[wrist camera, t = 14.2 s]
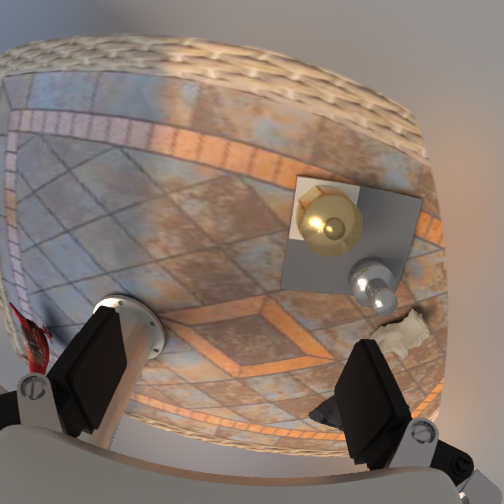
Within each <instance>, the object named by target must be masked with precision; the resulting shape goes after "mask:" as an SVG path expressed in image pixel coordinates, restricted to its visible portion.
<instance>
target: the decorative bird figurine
mask: <svg viewBox="0 0 504 504" xmlns="http://www.w3.org/2000/svg"><path fill="white" fill-rule="evenodd" d="M10 305H11V308H12V309H13V311H14V312H15V314H16V316H17V318H18V319H19V321H20V323H21V329H22V335H23V340H24V344H25V347H26V350H27V354H28V357H29V368H30V373H40V374H43V375H45V372H46V368H47V365H48V362H49V346H48V342H47V339H46V336H45V335H44V333H45V334H46V335H47V336H48V338H49V339H50V340H51V336H50V334H49V333H48V331H47V329H46V327H45V328H44V323H43V328H44V330H43V329H41V328H39V327H38V326H37V325H36V324H35V323H34V322H33V321H31V320H29V319H26V318H25V317H23V316H22V315H21V314H20V313H19V311H18V310H17V309H16V308H15V307H14V306H13V304H12V303H10ZM51 343H52V341H51ZM52 344H53V343H52Z"/></svg>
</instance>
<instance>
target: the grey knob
mask: <svg viewBox="0 0 504 504" xmlns="http://www.w3.org/2000/svg"><path fill="white" fill-rule="evenodd" d="M348 282H349V286H350V288H351V290H352V292H353V294H354V296H355V298H356V300H357V301H358V302H359V303H360V304H361V305H363V306H366V307H373V309H374V311H375V312H376V314H377V315H379V316H387V315H389V314H391V313H392V312H393V311H394V310H395V309H396V307H397V304H398V301H397V298H396V297H395V295H394V294H393V291H394V288H395V277H394V275H393V274H392V272H391V271H390V270H389V269H388V267H387V266H386V265H385V264H384V262H383V261H382V260H380V259H379V258H376V257H367V258H363V259H361V260H360V261H358V262H357V263H356V264H355V265H354V266H353V267H352V269H351V270H350V273H349V276H348Z"/></svg>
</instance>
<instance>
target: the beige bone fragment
mask: <svg viewBox="0 0 504 504" xmlns="http://www.w3.org/2000/svg"><path fill="white" fill-rule="evenodd" d="M430 334H431V330H430V329H429V328H428V326H427V324H426V322H425V321H424V319H423V317H422V313H419V312H418V313H417V312H416V311H414V309H413V308H412V309H411V311H410V312H409V315H408V317H406V318H404V320H403V321H401V322H400V323H392V324H387V325H386V326H380V327H379V328H378V329H377V330H376V331H374V333H373V334H372V335H371V337H370V338H369V339H374V340H375V341H376V342H377V344H378V346H379V348H380V350H381V352H382V354H385V353H387V352H388V351H393V352H396V353H397V354H398V355H399V356H401V357H402V358H403V359H404V358H406V356H407V355H408V352H409V350H410V348H412V347H416V346H420V345H421V343H422V342H423V341H424V340H425V339H426V338H428V337H429V336H430Z"/></svg>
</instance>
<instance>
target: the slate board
mask: <svg viewBox="0 0 504 504" xmlns="http://www.w3.org/2000/svg"><path fill="white" fill-rule="evenodd" d="M298 176H299V177H306V178H313V179H320V180H326V181H333V180H327V179H321V178H314V177H307V176H300V175H297V177H296V184H295V192H294V199H293V206H292V213H291V219H290V226H289V233H290V227H291V220H292V214H293V207H294V200H295V193H296V186H297V178H298ZM333 182H339V181H333ZM339 183H344V184H350V185H356V184H351V183H345V182H339ZM356 186H359V187H360V190H359V196H358V201H357V207H358V209H359V211H360V212H361V215H362V218H363V231H362V234H361V237H360V239H359V241H358V242H357V244H356V245H355V246H354V247H353V248H352V249H351V250H350V251H348V252H346V253H344V254H342V255H339V256H334V257H327V256H322V255H319V254H317V253H315V252H314V251H313V250H311V249H310V248H309V247H308V245H307V244H306V242H305V240H297V239H289V233H288V239H287V245H286V252H285V258H284V264H283V270H282V276H281V282H280V289H283V290H294V291H305V292H316V293H328V294H341V295H354V294H353V292H352V290H351V288H350V286H349V282H348V276H349V273H350V270H351V269H352V267H353V266H354V265H355V264H356V263H357V262H358V261H360V260H361V259H363V258H367V257H376V258H379V259H380V260H382V261H383V262H384V264H385V265H386V266H387V267H388V269H389V270H390V271H391V272H392V274H393V275H394V277H395V288H394V291H393V294H395V292H396V289H397V286H398V283H399V280H400V277H401V274H402V271H403V268H404V265H405V262H406V259H407V256H408V253H409V249H410V246H411V242H412V239H413V235H414V232H415V228H416V224H417V220H418V216H419V212H420V208H421V204H422V199H420V198H418V197H414V196H409V195H405V194H401V193H396V192H391V191H387V190H382V189H377V188H372V187H367V186H362V185H356Z"/></svg>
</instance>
